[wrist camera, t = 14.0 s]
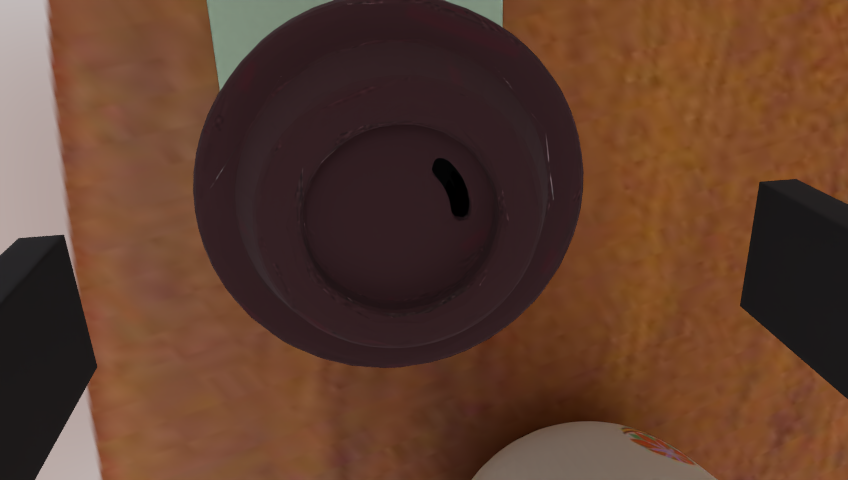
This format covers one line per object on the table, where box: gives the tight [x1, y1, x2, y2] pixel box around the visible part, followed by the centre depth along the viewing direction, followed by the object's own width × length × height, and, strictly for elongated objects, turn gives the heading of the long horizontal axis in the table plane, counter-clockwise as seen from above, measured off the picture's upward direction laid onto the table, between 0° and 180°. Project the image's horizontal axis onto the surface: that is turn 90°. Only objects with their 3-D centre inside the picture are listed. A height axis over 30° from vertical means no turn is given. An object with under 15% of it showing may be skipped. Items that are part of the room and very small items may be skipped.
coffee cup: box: [193, 0, 583, 368], centre depth 23 cm, size 10×10×15 cm
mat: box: [207, 0, 503, 90], centre depth 30 cm, size 12×12×1 cm
